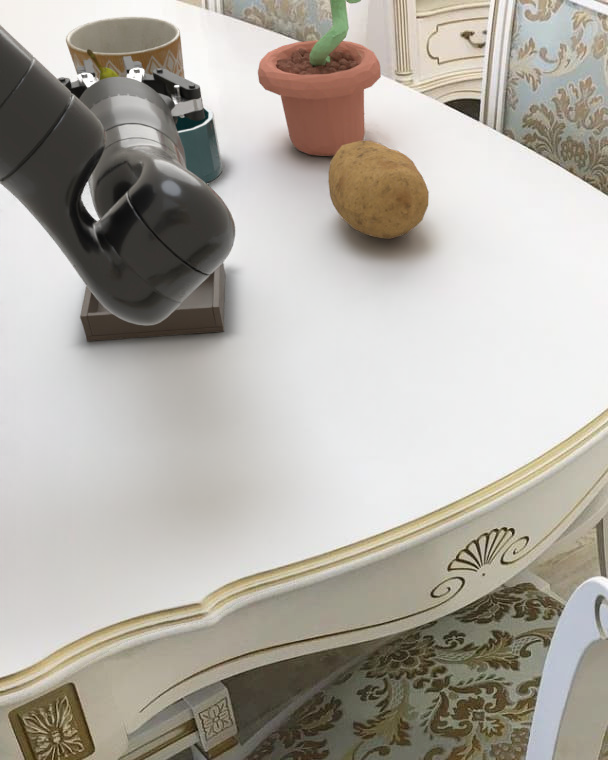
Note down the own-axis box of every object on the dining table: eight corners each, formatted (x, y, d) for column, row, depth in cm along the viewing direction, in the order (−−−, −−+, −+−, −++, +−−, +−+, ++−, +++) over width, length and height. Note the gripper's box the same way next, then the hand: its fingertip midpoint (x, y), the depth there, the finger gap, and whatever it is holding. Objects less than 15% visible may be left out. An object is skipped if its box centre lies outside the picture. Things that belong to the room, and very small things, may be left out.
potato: (391, 193, 123) (386, 119, 117) (451, 246, 114) (449, 169, 109) (309, 212, 119) (301, 136, 113) (365, 268, 111) (359, 189, 105)
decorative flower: (308, 111, 138) (274, -183, 117) (408, 128, 135) (393, -171, 114) (246, 157, 129) (197, -155, 107) (353, 177, 125) (324, -141, 104)
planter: (71, 124, 134) (46, 31, 127) (164, 100, 140) (146, 9, 133) (120, 159, 128) (97, 62, 120) (216, 131, 134) (200, 37, 126)
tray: (87, 341, 101) (79, 316, 99) (98, 281, 108) (91, 256, 106) (223, 331, 102) (219, 307, 100) (225, 272, 110) (220, 248, 108)
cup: (138, 191, 122) (125, 135, 118) (143, 157, 128) (131, 103, 124) (221, 186, 123) (212, 131, 119) (222, 153, 129) (213, 99, 125)
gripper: (215, 87, 83) (183, 15, 94) (18, 106, 79) (10, 29, 91) (231, 186, 88) (199, 107, 99) (48, 209, 85) (36, 124, 96)
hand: (109, 70), depth 95 cm, fingers closed on fruit, 2 cm apart
